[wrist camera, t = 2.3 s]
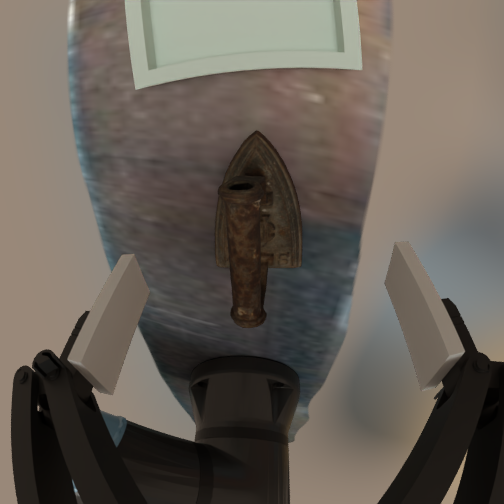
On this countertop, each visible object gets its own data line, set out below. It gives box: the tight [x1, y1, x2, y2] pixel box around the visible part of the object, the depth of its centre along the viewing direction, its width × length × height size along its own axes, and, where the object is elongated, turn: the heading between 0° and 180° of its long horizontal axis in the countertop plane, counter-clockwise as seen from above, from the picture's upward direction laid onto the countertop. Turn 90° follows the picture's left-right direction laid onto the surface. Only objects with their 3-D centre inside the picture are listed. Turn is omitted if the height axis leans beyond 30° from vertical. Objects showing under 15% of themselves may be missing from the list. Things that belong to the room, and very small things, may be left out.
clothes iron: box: [215, 131, 302, 328], centre depth 18 cm, size 7×11×10 cm, turn 3°
